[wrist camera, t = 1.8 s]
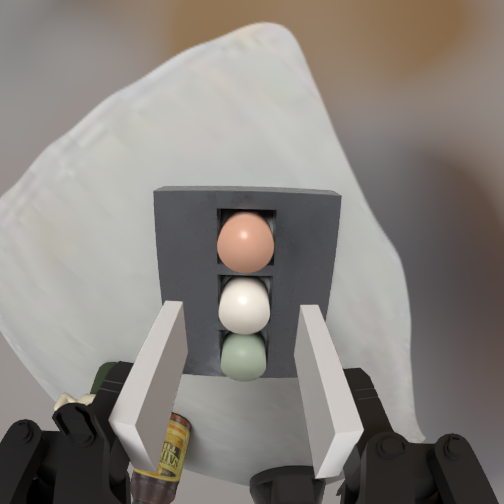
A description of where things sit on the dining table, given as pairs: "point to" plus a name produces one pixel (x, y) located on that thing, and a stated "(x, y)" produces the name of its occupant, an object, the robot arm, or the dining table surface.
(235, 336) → the sage button
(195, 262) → the panel
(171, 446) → the sauce bottle
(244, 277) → the cream button
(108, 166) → the dining table surface
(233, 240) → the terracotta button
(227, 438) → the dining table surface
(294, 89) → the dining table surface
